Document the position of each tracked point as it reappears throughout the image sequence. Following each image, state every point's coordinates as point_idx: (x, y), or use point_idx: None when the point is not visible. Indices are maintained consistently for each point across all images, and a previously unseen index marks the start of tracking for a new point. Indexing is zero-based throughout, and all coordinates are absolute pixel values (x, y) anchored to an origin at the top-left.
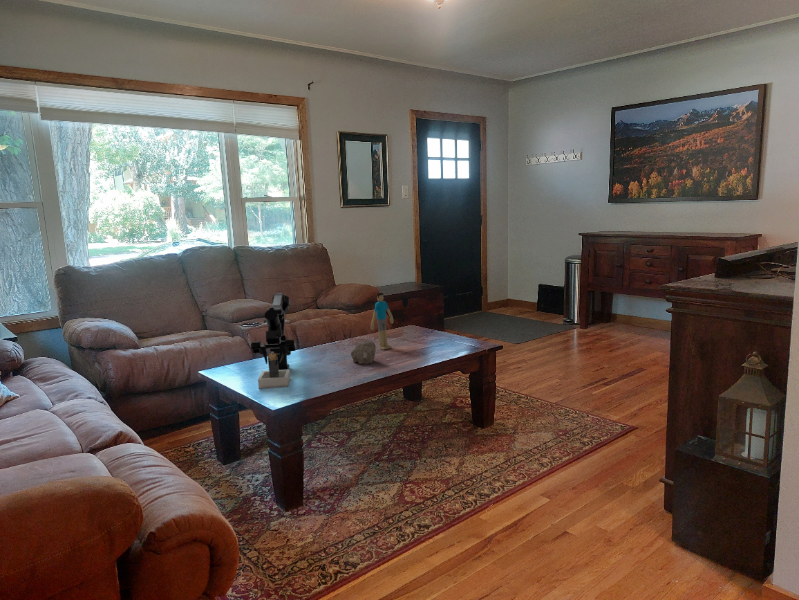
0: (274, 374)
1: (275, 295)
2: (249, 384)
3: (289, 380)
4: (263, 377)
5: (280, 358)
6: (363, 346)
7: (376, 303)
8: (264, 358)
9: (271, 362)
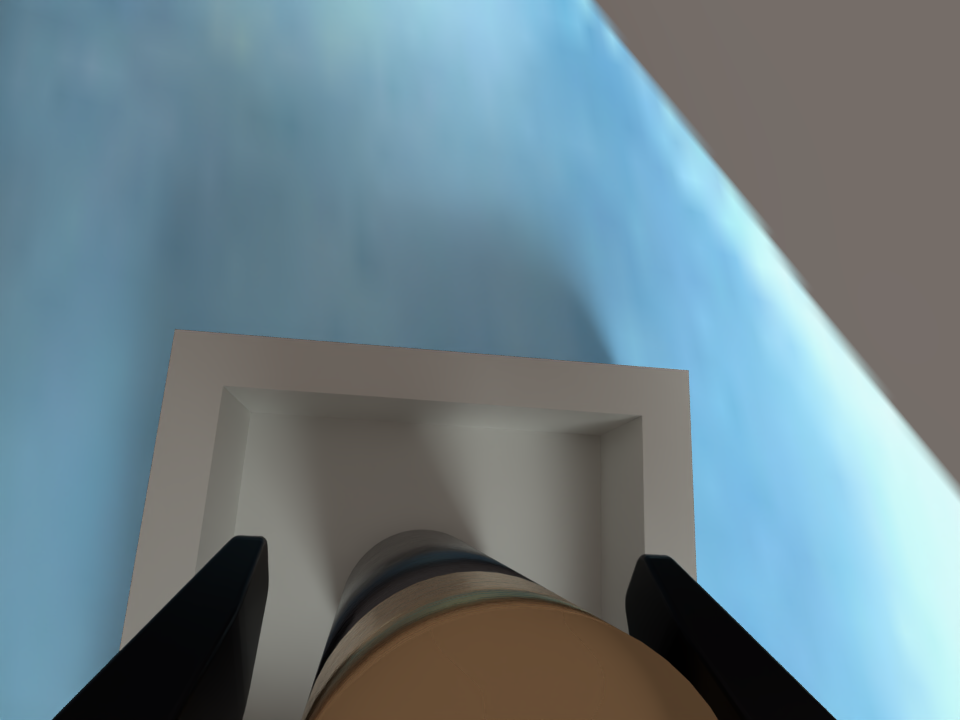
0: (416, 541)
1: None
2: (803, 648)
3: None
4: None
5: (159, 616)
6: None
7: None
8: (786, 674)
9: (500, 566)
